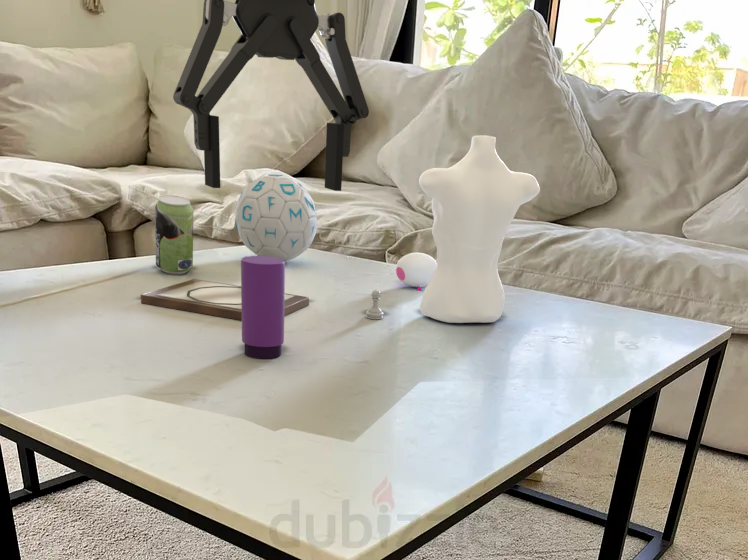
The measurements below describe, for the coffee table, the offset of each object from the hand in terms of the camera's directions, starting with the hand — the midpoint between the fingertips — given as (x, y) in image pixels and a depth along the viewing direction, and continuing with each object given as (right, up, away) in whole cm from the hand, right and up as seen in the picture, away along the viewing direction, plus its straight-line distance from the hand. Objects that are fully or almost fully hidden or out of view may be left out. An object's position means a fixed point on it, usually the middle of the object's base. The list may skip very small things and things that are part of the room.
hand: (274, 188), depth 83 cm
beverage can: (-24, +6, +49) cm, 55 cm away
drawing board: (-12, -4, +32) cm, 34 cm away
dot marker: (-3, -15, +12) cm, 19 cm away
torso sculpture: (+23, -5, +35) cm, 42 cm away
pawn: (+10, -6, +31) cm, 34 cm away
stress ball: (+17, +5, +53) cm, 56 cm away
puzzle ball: (-9, +13, +64) cm, 66 cm away
